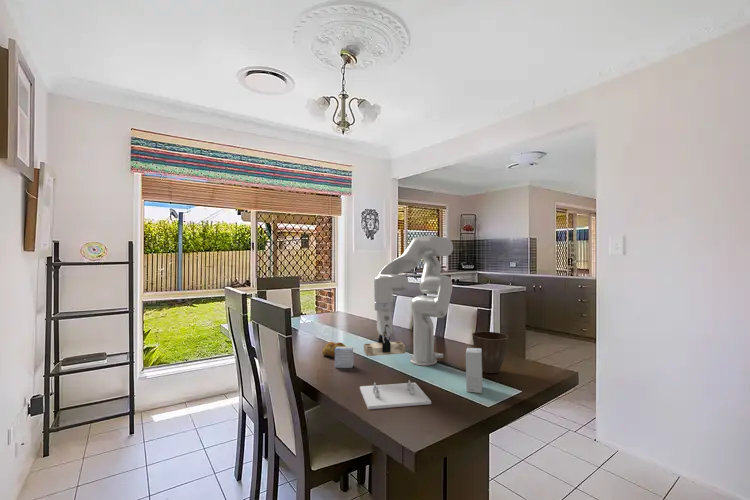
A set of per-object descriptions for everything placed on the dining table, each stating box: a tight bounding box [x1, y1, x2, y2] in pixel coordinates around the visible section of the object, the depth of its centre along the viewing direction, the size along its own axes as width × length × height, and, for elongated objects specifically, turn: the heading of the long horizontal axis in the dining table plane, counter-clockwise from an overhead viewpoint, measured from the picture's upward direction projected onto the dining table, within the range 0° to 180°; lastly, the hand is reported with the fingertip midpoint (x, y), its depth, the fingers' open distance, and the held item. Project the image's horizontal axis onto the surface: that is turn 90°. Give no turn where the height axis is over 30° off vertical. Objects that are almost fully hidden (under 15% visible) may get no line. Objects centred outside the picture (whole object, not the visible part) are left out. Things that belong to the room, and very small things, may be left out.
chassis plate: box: [359, 379, 432, 410], centre depth 129 cm, size 22×18×4 cm
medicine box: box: [334, 346, 354, 369], centre depth 163 cm, size 8×4×9 cm, turn 84°
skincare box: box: [465, 347, 484, 394], centre depth 136 cm, size 8×6×15 cm
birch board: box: [363, 340, 406, 357], centre depth 146 cm, size 16×7×3 cm, turn 101°
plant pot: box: [471, 331, 509, 374], centre depth 156 cm, size 15×15×16 cm
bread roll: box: [321, 341, 347, 359], centre depth 180 cm, size 13×10×8 cm
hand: (384, 349), depth 146 cm, fingers closed on birch board, 7 cm apart
